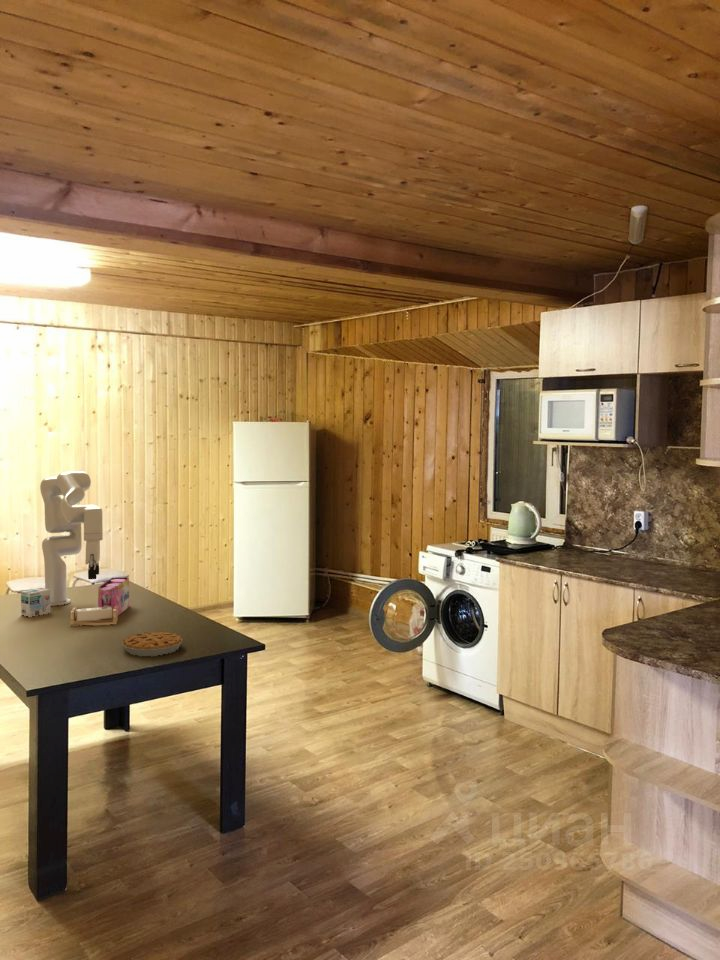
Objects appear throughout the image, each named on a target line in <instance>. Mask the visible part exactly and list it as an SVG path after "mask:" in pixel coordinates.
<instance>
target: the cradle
mask: <svg viewBox="0 0 720 960" xmlns="http://www.w3.org/2000/svg"><path fill="white" fill-rule="evenodd" d="M76 609H77V607H76V606H75V607H74V606H73V607H72V609H71V610H70V615H69V616H70V619H69V620H70V621H69V622H70V625H69V626H70V627H83V626H82V625H93V626H111V625H110V624H116V625H117V623H118V621H119V615H118V606H115V607H114V609H113V615H112V618H106V619H95V620H84V621H77V619H76ZM79 625H80V626H79Z"/></svg>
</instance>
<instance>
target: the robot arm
mask: <svg viewBox="0 0 720 960" xmlns="http://www.w3.org/2000/svg"><path fill="white" fill-rule="evenodd" d="M91 480H92V479H91V477H90V475H89V474H88V473H87V472H86V471H66V472H61V473H59V474H58V475H57V476H51V477H46V478H44V479H42V480H41V482H40V486H39V487H40V494H41V497H42V500H43V504H44V526H45V531H46V532H47V533H48V534H49V533H50V534H61V533H69V534H65V535H64V534H63V535H62V534H61V535H52V536H47V537H45V538H44V539H43V540H42V543H41V550H42V554H43V555H42V556H43V561H44V563H43V564H44V588H45V589H49V590H50V607H56V606H57V605H58V606H64V604H65V605H68V604H70V603H71V599H70V598H68V588H67V587H68V586H67V582H68V581H67V577H68V576H67V565H66V562H65V560H63V559H62V558H61V557H65V556H72V555H74V556H75V555H77V554H80V553H81V550H82V548H83V545H82V544H83V543H82V542H83V541H85V565H88V568H87V569H88V570H87V579H88V580H96V579H97V575H100V565H99V563H100V561H101V560H100V559H101V541H103V540H104V539H103V535H104V533H103V532H104V531H103V509H102V507H99V506H97V505H95V504H83V505H78V504H79V503H81V502H82V501H83V500H84V498H85V496H86V494H85V493H86V491H88V490H89V488H90V487H91V483H92V481H91ZM61 496H63V497H62V498H61ZM82 524H83V539H82ZM82 540H83V541H82ZM58 606H57V607H58Z"/></svg>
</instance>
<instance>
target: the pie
mask: <svg viewBox="0 0 720 960" xmlns="http://www.w3.org/2000/svg"><path fill="white" fill-rule="evenodd" d="M182 643H183V638H182V636H181V635H178V634H177V632H174V633H170V632H168V631H164V632H161V631H154V632H143V633H135V634H134V635H129V636H127V638H123V640H122V644H121V645H122V646H123V647H124V650H125V651H126V652H127V653H128V652H129V653H130V654H129V653H128V654H129V655H132V654H134V655H133V656H135V655H138V656H137V657H142V656H151V657H159V656H158V655H160V656H164V655H163V654H166V655H168V653H169V654H171V653H175V652H176V650H177V651H178V650H179V648H180V646H181V644H182Z"/></svg>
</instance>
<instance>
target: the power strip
mask: <svg viewBox="0 0 720 960" xmlns="http://www.w3.org/2000/svg"><path fill="white" fill-rule="evenodd" d="M106 618H112V608H111V606H110V607H98V606H97V607H87V608H78V609H77V608H76V619H77V621H84V620H95V619H106Z"/></svg>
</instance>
